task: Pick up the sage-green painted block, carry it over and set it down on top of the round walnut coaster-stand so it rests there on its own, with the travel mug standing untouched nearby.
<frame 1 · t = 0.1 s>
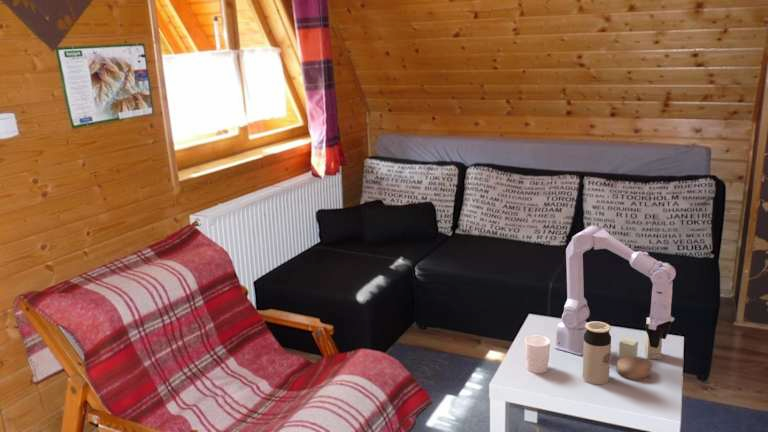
hand: (658, 342, 202), 10 cm above the table, fingers open, 7 cm apart
coaster stand: (633, 372, 204), on the table
white cup: (537, 369, 209), on the table
travel mug: (595, 379, 201), on the table
block: (627, 357, 214), on the table
box: (652, 356, 214), on the table
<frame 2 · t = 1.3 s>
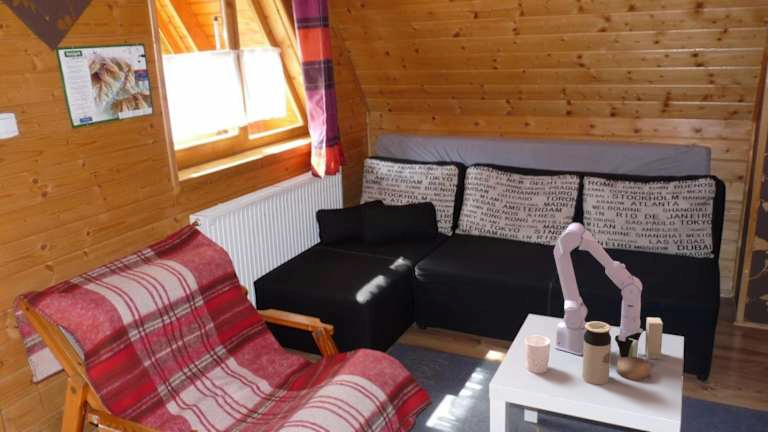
hand: (628, 352, 213), 2 cm above the table, fingers open, 7 cm apart
nothing on the table moved.
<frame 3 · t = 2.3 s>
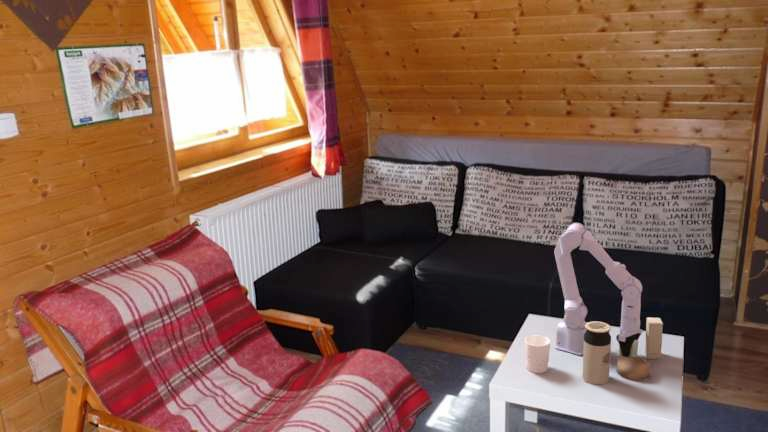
hand: (628, 353, 213), 2 cm above the table, fingers closed on block, 4 cm apart
block: (627, 357, 214), on the table, touching gripper
everything else where it was.
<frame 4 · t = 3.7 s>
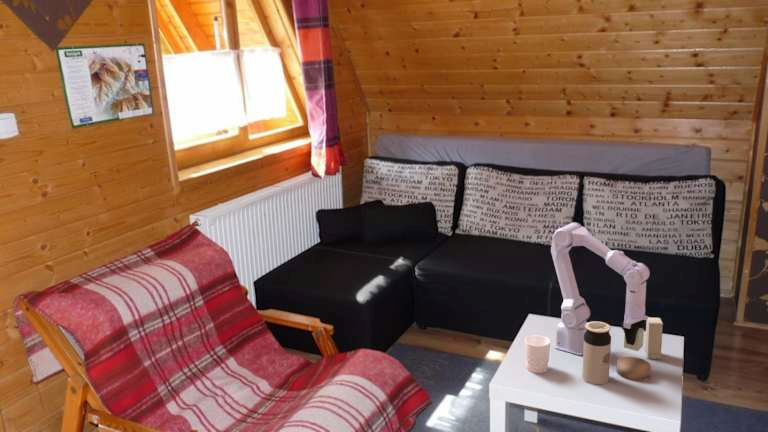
hand: (633, 341, 206), 9 cm above the table, fingers closed on block, 4 cm apart
block: (633, 346, 206), point 7 cm above the table, touching gripper
everything else where it was.
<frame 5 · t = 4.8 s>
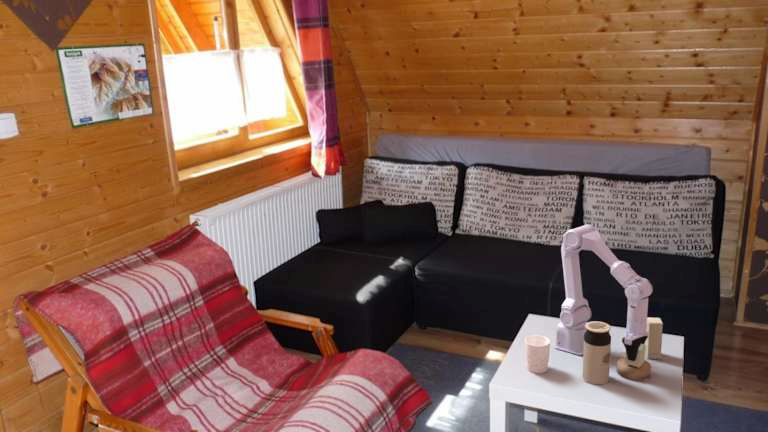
hand: (634, 356, 202), 6 cm above the table, fingers closed on block, 4 cm apart
block: (634, 362, 203), point 4 cm above the table, touching gripper
everything else where it was.
when the fingers open (6 cm above the table, at t = 5.4 s): block stays where it is, resting on coaster stand.
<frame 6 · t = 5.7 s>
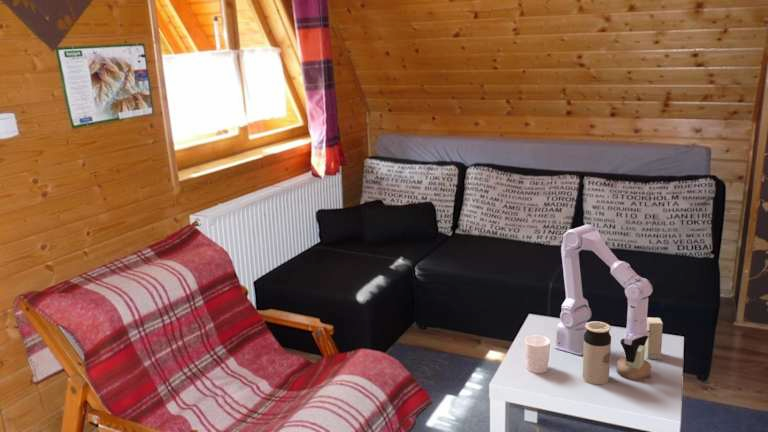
hand: (634, 356, 202), 6 cm above the table, fingers open, 7 cm apart
block: (634, 364, 203), point 3 cm above the table, touching coaster stand
everything else where it was.
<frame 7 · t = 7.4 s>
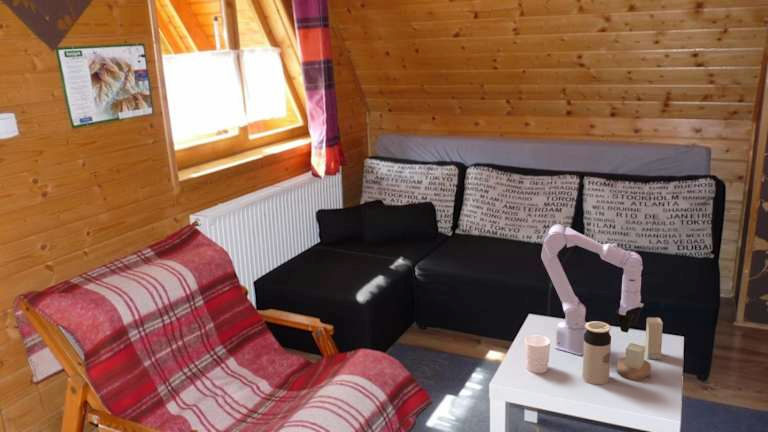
hand: (628, 327, 213), 10 cm above the table, fingers open, 7 cm apart
nothing on the table moved.
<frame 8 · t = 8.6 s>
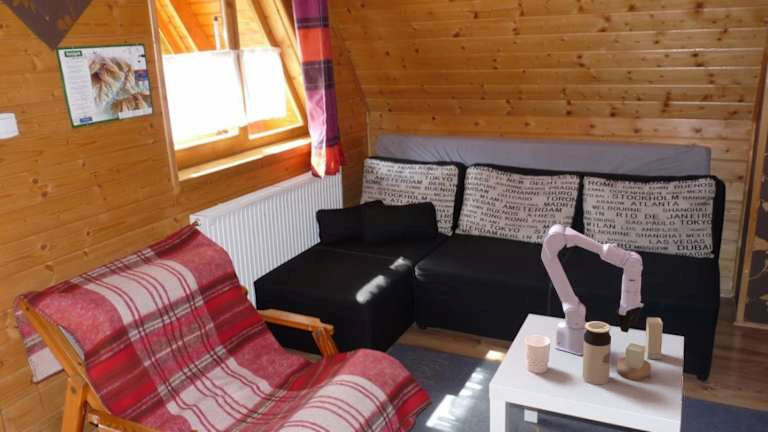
hand: (628, 327, 213), 10 cm above the table, fingers open, 7 cm apart
nothing on the table moved.
at the end: block 0.1 cm off-centre on the coaster stand, point 3.0 cm above the coaster stand's base; block tilted 0°; block touching coaster stand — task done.
